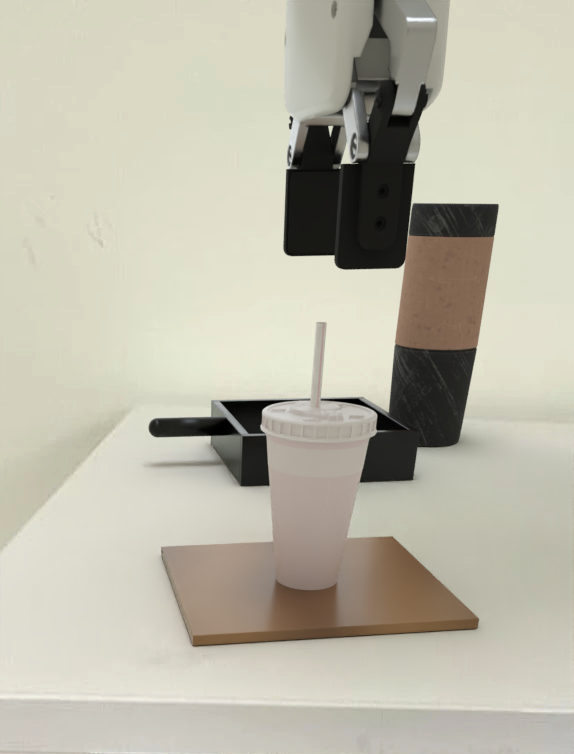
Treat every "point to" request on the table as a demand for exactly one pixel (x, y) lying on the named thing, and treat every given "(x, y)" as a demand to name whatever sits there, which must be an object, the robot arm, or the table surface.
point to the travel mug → (440, 316)
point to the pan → (249, 443)
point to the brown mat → (308, 594)
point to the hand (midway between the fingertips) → (338, 261)
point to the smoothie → (314, 479)
